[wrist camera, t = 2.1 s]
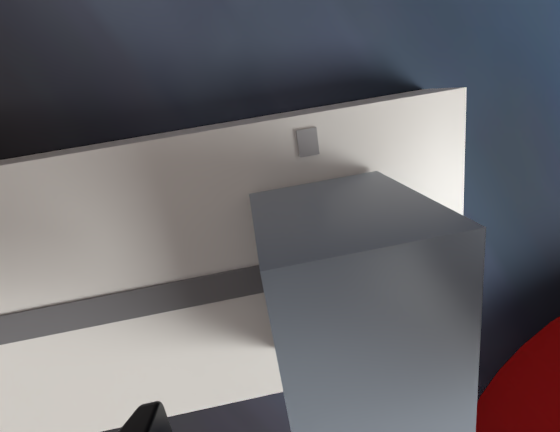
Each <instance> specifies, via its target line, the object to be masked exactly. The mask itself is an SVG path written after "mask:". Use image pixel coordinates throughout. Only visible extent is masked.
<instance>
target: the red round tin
mask: <svg viewBox="0 0 560 432" xmlns="http://www.w3.org/2000/svg"><path fill="white" fill-rule="evenodd" d="M476 432H560V317H558V318H556V319H555V320H553V321H552V322H550V323H549V324H548V325H547V326H545V327H544V328H543V329H542V330H541V331H539V332H538V333H537V334H536V335H534V336H533V337H532V338H531V339H530V340H528V341H527V342H526V343H525V344H524V345H522V346H521V347H520V349H519V350H518V351H517V352H516V353H515V354H514V355H513V356H512V357H511V358H510V359H509V360H508V361H507V362H506V363H505V364H504V365H503V367H502V368H501V369H500V370H499V371H498V372H497V374H496V375H495V377H494V378H493V379H492V381H491V382H490V383H489V385H488V386H487V388H486V389H485V390H484V392H483V393H482V395H481V396H480V398H479V400H478V402H477V416H476Z"/></svg>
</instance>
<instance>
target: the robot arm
mask: <svg viewBox="0 0 560 432" xmlns="http://www.w3.org/2000/svg"><path fill="white" fill-rule="evenodd" d="M118 432H172V429H171V426H170V423H169V420H168V417H167V414H166V411H165V409H164V406H163V404H162V403H161V402H160V401H154V402H150V403H145V404H142V405H140V406H139V407H138V408H137V409H136V410H135V411H134V413H133V414H132V415H131V416H130V418H129V419H128V420H127V421H126V422H125V424H124V425H123V426H122V427H121V429H120V430H119V431H118Z"/></svg>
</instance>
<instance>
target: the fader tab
mask: <svg viewBox="0 0 560 432" xmlns="http://www.w3.org/2000/svg"><path fill="white" fill-rule="evenodd" d="M249 197H250V205H251V212H252V219H253V226H254V233H255V240H256V247H257V254H258V261H259V268H260V274H261V279H262V284H263V289H264V295H265V300H266V305H267V310H268V315H269V320H270V325H271V330H272V336H273V341H274V346H275V351H276V356H277V361H278V366H279V372H280V377H281V382H282V387H283V392H284V397H285V402H286V408H287V413H288V418H289V423H290V428H291V432H476V416H477V396H478V376H479V356H480V336H481V316H482V296H483V276H484V257H485V237H486V227H484V226H482V225H480V224H478V223H476V222H475V221H473V220H471V219H469V218H467V217H465V216H463V215H461V214H459V213H457V212H455V211H453V210H451V209H449V208H448V207H446V206H444V205H442V204H440V203H438V202H436V201H434V200H432V199H430V198H428V197H426V196H424V195H423V194H421V193H419V192H417V191H415V190H413V189H411V188H409V187H407V186H405V185H403V184H401V183H399V182H397V181H396V180H394V179H392V178H390V177H388V176H386V175H384V174H382V173H380V172H378V171H373V172H367V173H362V174H356V175H351V176H345V177H340V178H334V179H329V180H323V181H318V182H312V183H307V184H301V185H295V186H290V187H284V188H279V189H273V190H268V191H262V192H257V193H251V194H249Z"/></svg>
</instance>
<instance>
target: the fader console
mask: <svg viewBox="0 0 560 432" xmlns="http://www.w3.org/2000/svg"><path fill="white" fill-rule="evenodd" d="M466 88H467V87H461V88H438V89H422V90H416V91H410V92H404V93H398V94H392V95H386V96H380V97H374V98H368V99H362V100H356V101H350V102H344V103H338V104H332V105H326V106H320V107H314V108H308V109H302V110H296V111H290V112H284V113H278V114H272V115H266V116H260V117H254V118H248V119H242V120H237V121H231V122H225V123H219V124H213V125H207V126H201V127H195V128H189V129H183V130H177V131H171V132H165V133H159V134H153V135H147V136H141V137H135V138H129V139H123V140H117V141H111V142H105V143H99V144H93V145H87V146H81V147H75V148H69V149H63V150H57V151H51V152H45V153H39V154H33V155H27V156H21V157H15V158H9V159H3V160H0V432H101V431H106V430H110V429H115V428H119V427H122V426H123V425H124V424H125V422H126V421H127V420H128V419H129V418H130V416H131V415H132V414H133V413H134V411H135V410H136V409H137V408H138V407H139V406H140V405H142V404H145V403H150V402H154V401H160V402H161V403H162V404H163V406H164V409H165V411H166V414H167V417H169V416H174V415H179V414H183V413H188V412H192V411H197V410H201V409H206V408H211V407H215V406H220V405H224V404H229V403H233V402H238V401H243V400H247V399H252V398H256V397H261V396H265V395H270V394H275V393H279V392H283V387H282V382H281V377H280V372H279V366H278V361H277V356H276V351H275V346H274V341H273V336H272V330H271V325H270V320H269V315H268V310H267V305H266V300H265V295H264V289H263V284H262V279H261V274H260V268H259V261H258V254H257V247H256V240H255V233H254V226H253V219H252V212H251V205H250V197H249V194H251V193H257V192H262V191H268V190H273V189H279V188H284V187H290V186H295V185H301V184H307V183H312V182H318V181H323V180H329V179H334V178H340V177H345V176H351V175H356V174H362V173H367V172H373V171H378V172H380V173H382V174H384V175H386V176H388V177H390V178H392V179H394V180H396V181H397V182H399V183H401V184H403V185H405V186H407V187H409V188H411V189H413V190H415V191H417V192H419V193H421V194H423V195H424V196H426V197H428V198H430V199H432V200H434V201H436V202H438V203H440V204H442V205H444V206H446V207H448V208H449V209H451V210H453V211H455V212H457V213H459V214H461V215H463V204H464V165H465V127H466Z"/></svg>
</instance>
